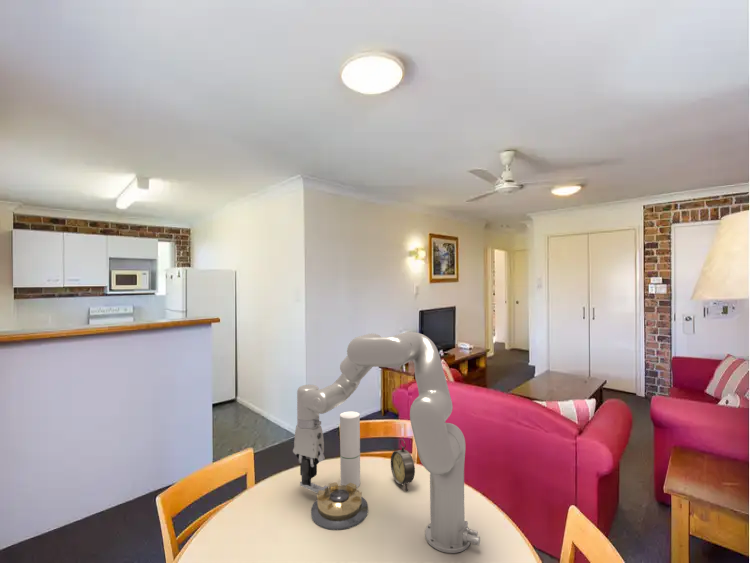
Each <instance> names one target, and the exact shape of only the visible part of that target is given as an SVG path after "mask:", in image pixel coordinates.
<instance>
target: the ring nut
mask: <svg viewBox="0 0 750 563" xmlns="http://www.w3.org/2000/svg"><path fill="white" fill-rule="evenodd" d="M310 466H311V463H310V457H304V458H302V459H301V470H302V475H301V481H299V485H300V487H303V488H304V489H307V490H309V491H311V492H313V493H316V500H317V509H318V512H319V514H320V515H321V516H322V517H324V518H326V519H330V520H345V519H348V518H351V517H353V516H355V515H356V514H357V513H358V512H359V511H360V510H361V507H362V497H363V492H362V491H360V490H359V489H358V488H356V485H355V484H353V483H349V484H347V485H346V486H345V485H341V484H340V485H339V484H338V482H337V481H335V482H331V483H328V486H327V485H324V486H321V485H318V484H316V483H313V482H312V479H311V478H309V467H310Z"/></svg>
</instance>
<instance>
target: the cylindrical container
mask: <svg viewBox="0 0 750 563" xmlns="http://www.w3.org/2000/svg"><path fill="white" fill-rule="evenodd" d="M360 414H361V413H360V412H357V411H353V410H351V411H344V412H341V413H340V414H339V439H340V440H339V441H340V442H339V444H340V445H339V447H340V448H339V449H340V450H339V451H340V453H339V454H340V456H339V457H340V460H339V461H340V463H339V464H340V485H345V486H346V485H347V484H349V483H353V484H355V485H356V489H358V488H359V487H360V486H361V438H360V437H361V432H360V431H361V428H360V427H361V426H360V425H361V424H360V423H361V422H360V419H361V418H360ZM358 486H359V487H358Z"/></svg>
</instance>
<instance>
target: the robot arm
mask: <svg viewBox="0 0 750 563" xmlns="http://www.w3.org/2000/svg"><path fill="white" fill-rule="evenodd" d="M346 352H347V353H346V355H347V356H346V357H345V358H344V359H343V360H342V361H341V362H340V365H339V369H340V372H341V374H340V376H339V377H337V379H336V380H335V381H334V382H333V383H332V384H330V385H328V386H326V387H323V388H321V389H320V388H319V387H318V386H317V385H315V384H304V385H300V386H299V387H298V388H297V389H296V390H297V391H296V400H297V401H296V402H297V404H296V405H297V406H296V408H297V409H296V410H297V413H296V414H297V415H296V419H297V420H296V422H297V423H296V427H295V431H294V441H293V444H294V445H293V446H294V447H293V449H292V453H293V454H294V455H295V456H296V458H297V460H298V463H299V466H300V467H299V470H300V471H299V475H300V476H302V470H301V459H302V458H304V457H310V463H311V466H310V467H309V478H311V480H312V479H313V478H314V477H316V476H317V475H318V474H317V472H318V469H317V468H318V465H319V463H320V462H323V461H325V460H326V459H325V458H326V457H325V454H324V453H325V441H324V433H323V428H322V421H321V420H320V414H321V415H322V414H323V415H324V414H326V413H328V412H330V411H332V410H333V409H335V408H337V407H339V406H341V405H343V404H344V403H345V402H346V401H347V400H348V399H349V398H350V397H351V396H352V394H353V393H354V392H355V391H356V390H357V388H358V387H359V386H360V383H361V380H363V378H364V377H365V376H366V375H367V374H368V373H369V372H370V371H371V369H372V368H373V367H374V368H376V367H377V368H380V367H381V368H396V367H400V366H404V365H405V364H408V363H409V362H413V365H414V377H415V381H416V385H417V386H416V387H417V390H418V396H417V397H415V399H414V400H413V402H412V404H411V405H410V409H409V420H410V424H411V429H412V430H411V431H412V433H413V439H414V443H415V446H416V451H417V454H418V458H419V461H420V462H421V464H422V466H423V467H424V469H425V470H426V471H427V472H428V473H429V479H430V480H429V493H430V494H429V495H430V496H429V498H430V499H429V502H430V504H429V505H430V506H429V507H430V508H429V510H430V513H429V514H430V523H428V525H427V526H426V528H425V531H424V532H425V533H424V534H425V535H424V536H425V539H426V542H427V543H428V544H429V545H430V546H431V547H432V548H433V549H435V550H437V551H440V552H443V553H446V554H447V553H448V554H456V553H457V554H458V553H460V552H464V551H465V550H467V549H468V548H469V546H470V544H473V545H477V546H480V542H481V537H480V536H478V535H479V534H478V533H479V532H478V531H477V530H474V529H470V527H469V526H468V525H469V524H468V523H469V522H468V521H467V520H465V458H466V438H465V436H464V433H463V431H462V430H461V429H460V428H459V427H458V426H457V425H456V424H453V423H452V422H451V423H450V422H446V421H447V420H448V419H449V418H450V416H451V414H452V412H453V409H454V408H453V401H452V400H453V399H452V398H451V394H450V389H449V385H448V381H447V378H446V375H445V372H444V368H443V364H442V360H441V356H440V353H439V350H438V347H437V346H436V344H435V343H434V341H432V340H431V339H430V338H429V337H428V336H426V335H425V334H422V333H420V332H415V331H405V332H402V333H399V334H396V335H393V336H384V337H383V336H381V335H379V334H377V333H367V334H362V335H360V336H356V337H354V338H353V339H351V340H350V342H349V344H348V345H347V349H346Z"/></svg>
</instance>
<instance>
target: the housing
mask: <svg viewBox="0 0 750 563" xmlns="http://www.w3.org/2000/svg"><path fill="white" fill-rule="evenodd" d="M310 508H311V510H310V516H311V519H312V521H313V523H315V525H317V526H318V527H320V528H322V529H325V530H330V531H342V530H349V529H351V528H354V527H356V526H358V525H360V524H361V523H362V522H363V521H365V519H366V518H367V516H368V514H367V513H368V512H369V504H368V502H367V500H366V499H365V497H363V496H362V507H361V510H360V511H359V512H358V513H357V514H356V515H355V516H353V517H351V518H348V519H345V520H330V519H326V518H324V517H322V516H321V515H320V514H319V512H318V509H317V499H316V500H315V501H314V502H313V504H312V506H311V507H310Z"/></svg>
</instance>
